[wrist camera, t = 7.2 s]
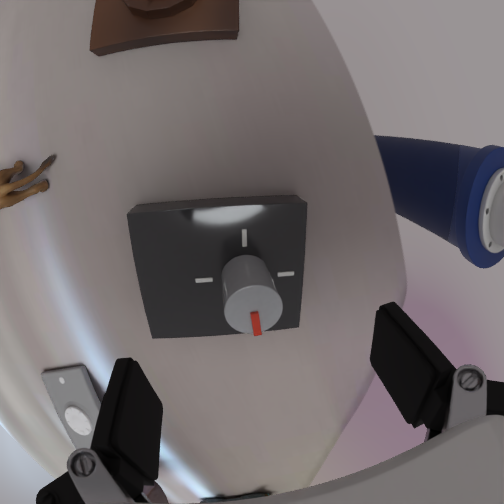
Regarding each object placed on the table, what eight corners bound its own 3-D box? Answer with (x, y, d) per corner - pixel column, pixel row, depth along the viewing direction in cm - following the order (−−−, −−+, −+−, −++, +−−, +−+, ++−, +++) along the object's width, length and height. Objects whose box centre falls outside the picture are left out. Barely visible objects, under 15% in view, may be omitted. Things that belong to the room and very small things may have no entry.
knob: (217, 259, 22) (219, 293, 18) (266, 250, 23) (281, 282, 18) (225, 301, 24) (229, 341, 19) (271, 292, 24) (285, 330, 20)
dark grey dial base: (296, 194, 24) (308, 203, 22) (291, 310, 29) (299, 328, 26) (136, 204, 23) (125, 214, 20) (156, 320, 28) (152, 339, 25)
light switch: (76, 368, 27) (124, 465, 26) (99, 357, 33) (139, 445, 32) (36, 374, 27) (79, 463, 26) (59, 365, 33) (96, 446, 32)
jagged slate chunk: (190, 494, 47) (191, 513, 42) (274, 490, 47) (277, 509, 43) (207, 495, 57) (208, 510, 53) (277, 491, 57) (279, 506, 53)
